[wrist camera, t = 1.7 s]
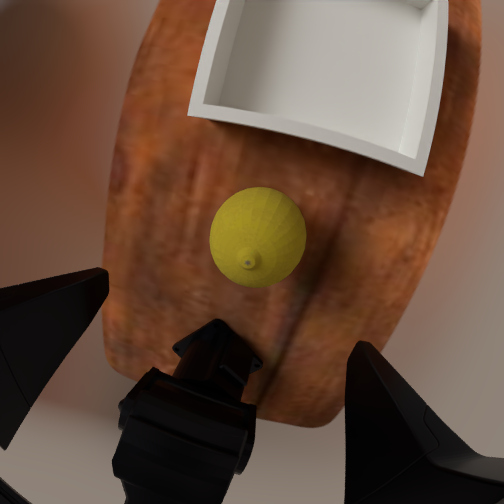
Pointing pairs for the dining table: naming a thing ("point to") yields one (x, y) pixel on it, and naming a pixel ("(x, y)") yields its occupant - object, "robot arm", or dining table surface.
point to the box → (329, 73)
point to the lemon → (258, 237)
